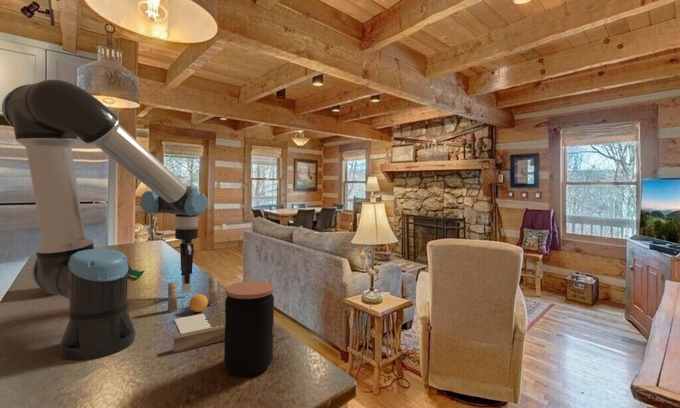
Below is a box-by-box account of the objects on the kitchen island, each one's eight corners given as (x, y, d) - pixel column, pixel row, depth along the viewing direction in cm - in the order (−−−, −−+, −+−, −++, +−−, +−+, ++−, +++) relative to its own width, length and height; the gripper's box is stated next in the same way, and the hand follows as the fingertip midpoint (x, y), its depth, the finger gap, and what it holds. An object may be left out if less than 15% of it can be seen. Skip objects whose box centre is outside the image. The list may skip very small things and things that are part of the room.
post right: (217, 304, 112) (218, 278, 112) (209, 305, 111) (210, 279, 110) (215, 302, 114) (216, 277, 114) (208, 303, 113) (208, 278, 112)
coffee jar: (282, 365, 74) (283, 287, 74) (240, 385, 66) (241, 298, 66) (255, 349, 81) (256, 278, 81) (215, 365, 73) (216, 286, 73)
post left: (177, 311, 105) (177, 283, 104) (168, 313, 103) (168, 285, 103) (176, 308, 107) (176, 282, 107) (167, 310, 105) (167, 283, 105)
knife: (118, 273, 148) (118, 263, 148) (122, 273, 150) (122, 262, 150) (143, 280, 139) (143, 269, 138) (147, 279, 140) (147, 268, 140)
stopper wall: (254, 333, 90) (254, 321, 90) (174, 352, 79) (175, 338, 78) (252, 331, 92) (252, 318, 92) (173, 349, 80) (173, 335, 80)
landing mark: (234, 325, 95) (234, 325, 95) (182, 337, 87) (182, 336, 87) (221, 310, 106) (221, 310, 106) (174, 319, 98) (174, 319, 98)
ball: (207, 313, 106) (210, 303, 104) (189, 316, 103) (191, 306, 101) (204, 300, 110) (207, 289, 107) (187, 302, 107) (189, 291, 104)
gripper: (201, 229, 115) (200, 294, 116) (194, 225, 126) (193, 285, 127) (178, 230, 111) (177, 298, 112) (172, 226, 122) (172, 288, 122)
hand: (186, 291), depth 119 cm, fingers closed
